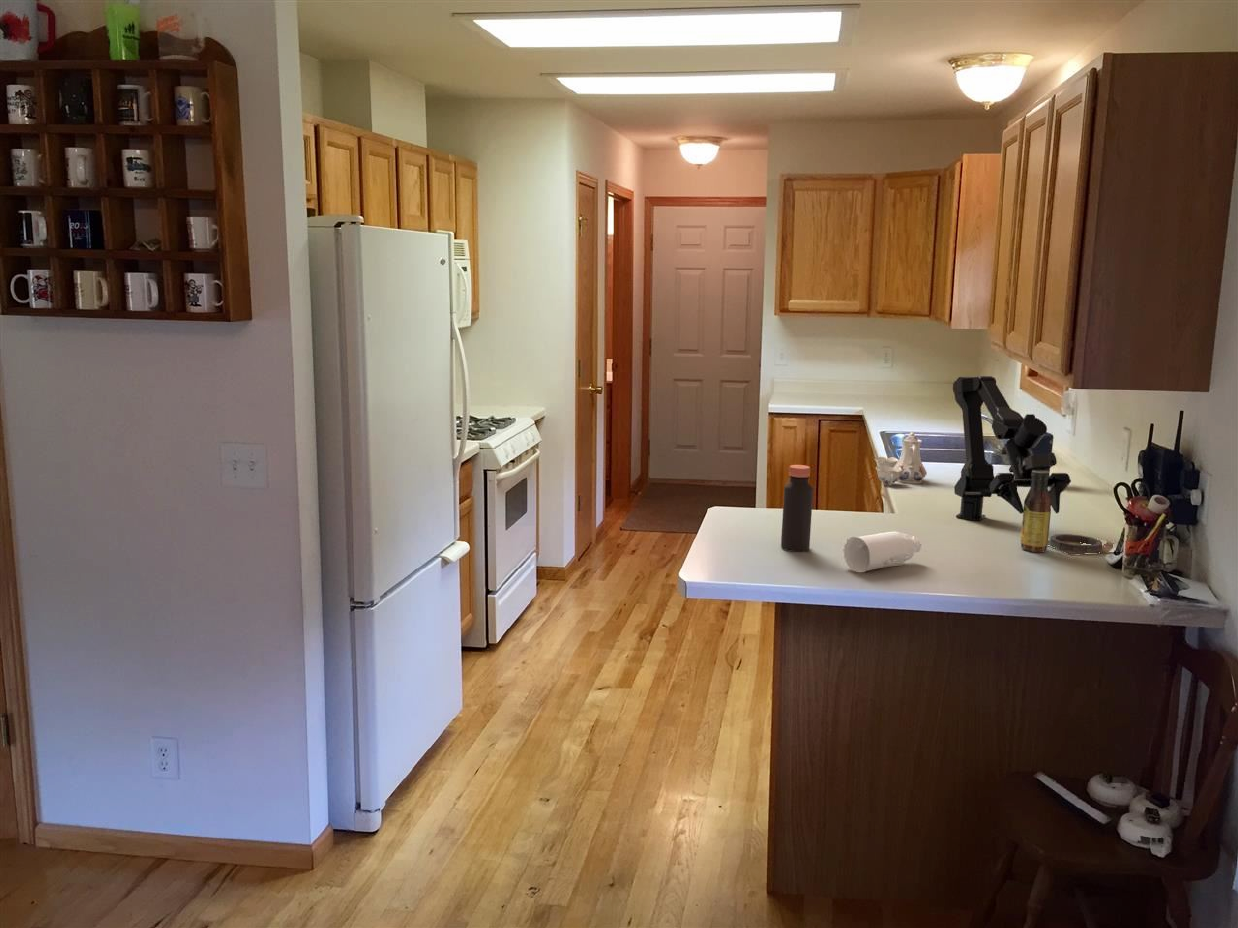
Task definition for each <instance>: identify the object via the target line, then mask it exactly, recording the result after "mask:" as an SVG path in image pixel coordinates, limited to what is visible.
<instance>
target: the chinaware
mask: <svg viewBox="0 0 1238 928" xmlns="http://www.w3.org/2000/svg"><path fill="white" fill-rule="evenodd" d="M922 442H923V441H922V439H919V438H918V437H917V435H916V436H915V433H914V431H911V432H910V433H909V435H907V436H905V438H901V444H902V445H901V446H902V448H901V454H900V456H899V459H898V458H897V457H884V456H879V457H877V458H874V461H876V466H875V471H876V474H877V476H878V479H879V481H880V482H882V485H883V486H886V487H888V486H891V487H893V486H894V483H896V482H898V483H902V484H910V485H911V484H921V483H923V482H922V480H923V479H924V478H926V476H927V474H928V473H927V469H926V468H925V466H924V465H923V462H922V458H921V452H920V451H921V449H920V448H921V445H922Z"/></svg>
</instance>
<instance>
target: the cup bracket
mask: <svg viewBox="0 0 1238 928" xmlns="http://www.w3.org/2000/svg"><path fill="white" fill-rule="evenodd" d="M1049 538H1050V539H1049V540H1048V544H1047V545H1050V546H1052V547H1055V548H1057V549H1059V550H1061V551H1063V552H1062V553H1064V552H1066V553H1068V554H1067V555H1069V554H1085V553H1099V552H1100V553H1106V554H1108V553H1107V552H1109V551H1110V550H1111V549H1112V548H1113V544H1114V542H1112V541H1109V540H1106V541H1107V543H1106V544H1104V545H1103V546H1102V542H1101V541H1100V540H1097V539H1095V538H1096V537H1095V538H1094V537H1091V536H1086V535H1081V534H1073V533H1071V534H1070V533H1058V534H1056V533H1055V534H1053V535H1050V536H1049ZM1080 542H1081V543H1080ZM1083 543H1086V544H1091V545H1081V544H1083ZM1104 546H1105V547H1104ZM1059 550H1058V551H1059ZM1061 551H1060V552H1061ZM1066 553H1065V554H1066Z"/></svg>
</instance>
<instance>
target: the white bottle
mask: <svg viewBox="0 0 1238 928" xmlns="http://www.w3.org/2000/svg"><path fill="white" fill-rule="evenodd" d="M921 549H922V544H921V543H920V540H919V539H917V537H916V536H915V535H913V536H912V537H910V536H909V535H907V534H906V533H902V532H898V531H888V532H887V531H886V532H881V533H875V534H869V535H868V534H867V535H861V536H851V537H849V539H846V543H845V544H844V547H843V549H842V550H843V558H844V560H845V563H846V564H847V566H848V568H849V569H850V570H851V571H853V572H857V573H864V572H867V571H872V570H878V569H883V568H890V567H899V566H903V564H904V563H906V562H907V561H910V560H912V558H913V557H914V554H915V553H919V552H920V551H921Z"/></svg>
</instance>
